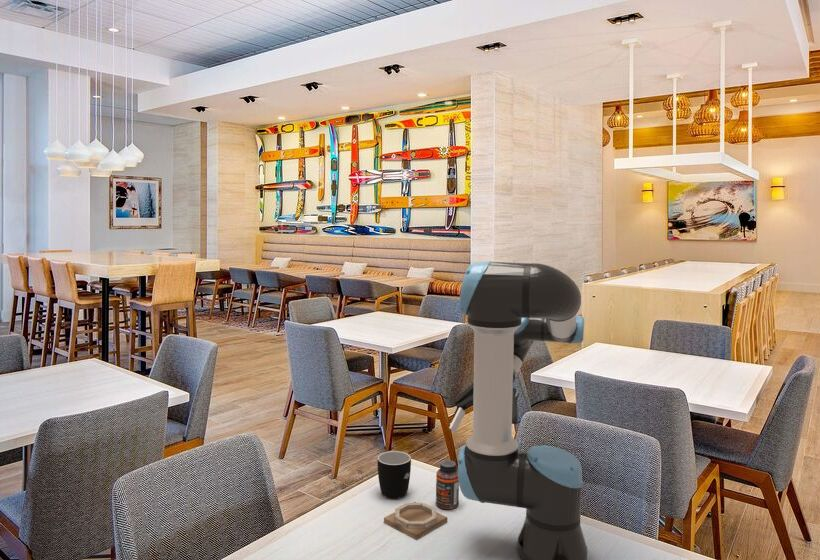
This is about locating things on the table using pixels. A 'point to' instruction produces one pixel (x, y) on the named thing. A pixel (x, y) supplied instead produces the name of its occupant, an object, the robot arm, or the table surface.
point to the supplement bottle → (447, 485)
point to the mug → (394, 473)
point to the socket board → (415, 519)
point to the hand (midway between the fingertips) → (471, 437)
